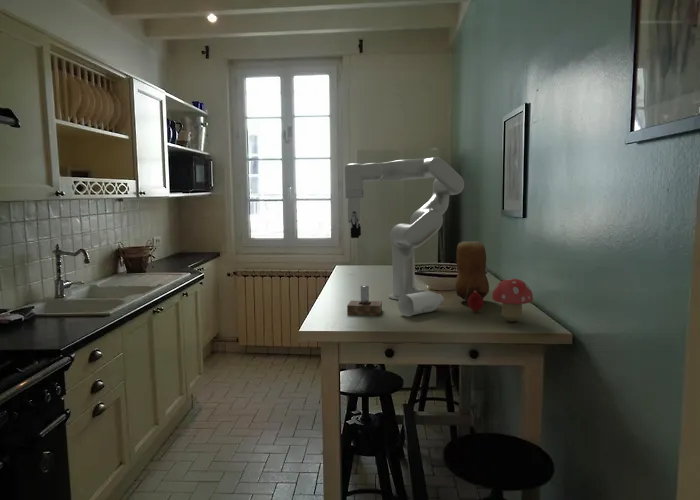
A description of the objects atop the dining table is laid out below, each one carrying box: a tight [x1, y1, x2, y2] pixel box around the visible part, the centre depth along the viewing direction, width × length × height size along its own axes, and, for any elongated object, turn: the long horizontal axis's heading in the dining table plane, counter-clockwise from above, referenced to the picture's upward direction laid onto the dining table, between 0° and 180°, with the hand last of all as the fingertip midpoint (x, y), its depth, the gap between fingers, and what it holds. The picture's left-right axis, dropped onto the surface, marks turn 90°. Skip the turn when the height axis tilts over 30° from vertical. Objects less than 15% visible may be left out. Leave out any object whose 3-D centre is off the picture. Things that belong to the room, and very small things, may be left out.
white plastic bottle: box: [397, 290, 445, 317], centre depth 194 cm, size 8×19×8 cm, turn 127°
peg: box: [360, 285, 370, 305], centre depth 195 cm, size 3×3×10 cm
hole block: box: [346, 300, 383, 317], centre depth 196 cm, size 12×9×4 cm
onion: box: [467, 291, 485, 313], centre depth 194 cm, size 6×6×8 cm
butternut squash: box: [454, 240, 490, 302], centre depth 212 cm, size 14×13×25 cm
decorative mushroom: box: [491, 277, 534, 323], centre depth 178 cm, size 13×13×15 cm
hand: (356, 236), depth 213 cm, fingers open, 9 cm apart
